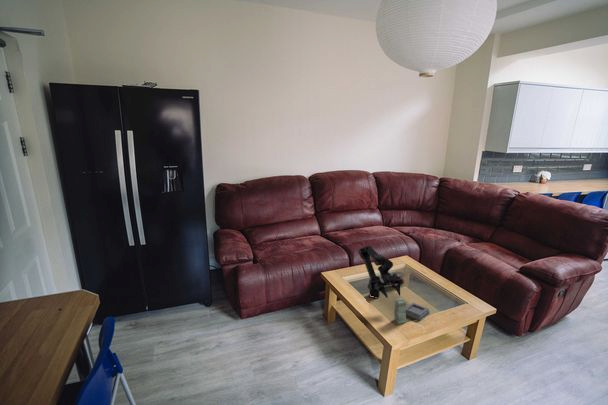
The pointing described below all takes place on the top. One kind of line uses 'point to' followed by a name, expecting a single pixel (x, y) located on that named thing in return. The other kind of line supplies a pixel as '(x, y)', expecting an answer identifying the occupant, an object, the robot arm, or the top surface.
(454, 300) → the top surface
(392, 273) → the mug
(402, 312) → the pillar
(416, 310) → the footing
